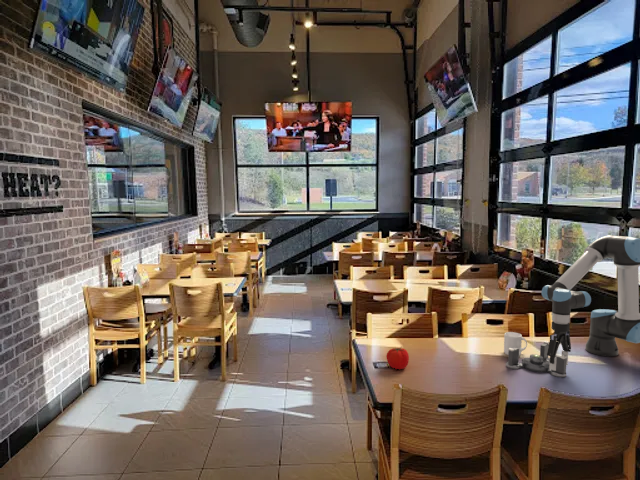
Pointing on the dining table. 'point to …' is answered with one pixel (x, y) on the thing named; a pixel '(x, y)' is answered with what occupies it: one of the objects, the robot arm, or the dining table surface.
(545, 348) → the knob
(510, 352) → the dark grey angled finger
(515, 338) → the mug
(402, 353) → the tomato
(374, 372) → the dining table surface
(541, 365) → the tribrach
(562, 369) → the knob
